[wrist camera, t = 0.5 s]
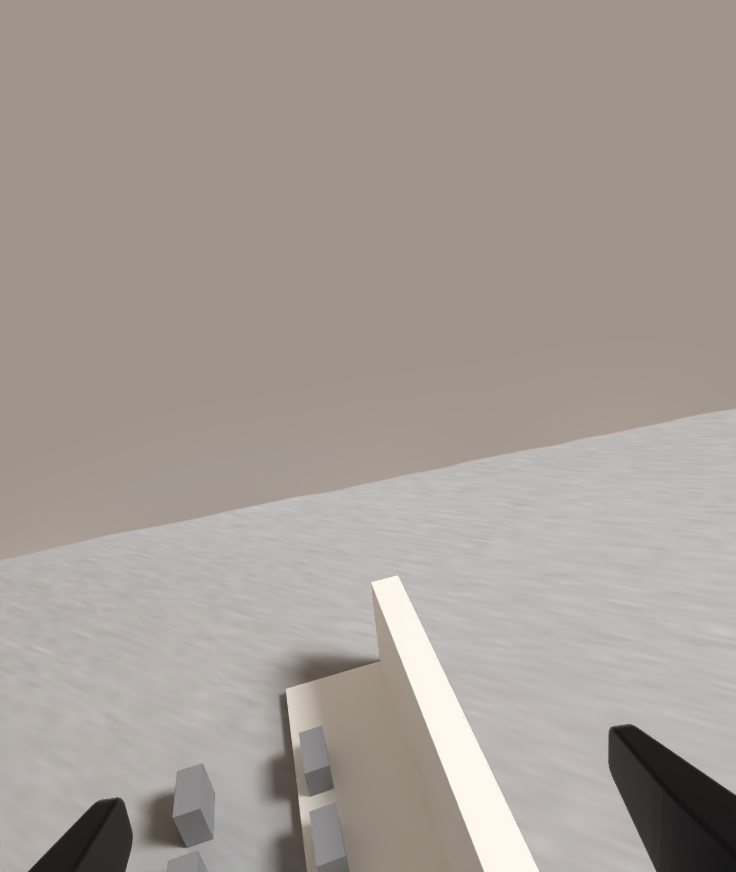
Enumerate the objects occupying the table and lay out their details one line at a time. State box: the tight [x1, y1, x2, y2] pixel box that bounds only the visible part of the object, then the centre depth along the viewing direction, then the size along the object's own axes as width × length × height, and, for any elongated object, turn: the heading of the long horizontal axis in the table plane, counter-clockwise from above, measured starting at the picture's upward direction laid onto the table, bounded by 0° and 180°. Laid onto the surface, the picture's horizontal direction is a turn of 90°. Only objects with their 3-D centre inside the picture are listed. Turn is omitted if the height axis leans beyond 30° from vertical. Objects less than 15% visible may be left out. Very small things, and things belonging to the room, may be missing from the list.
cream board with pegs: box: [167, 575, 539, 872], centre depth 21 cm, size 14×14×7 cm
